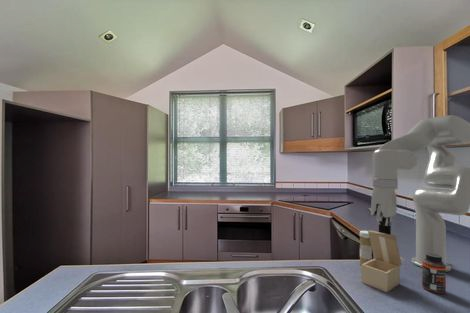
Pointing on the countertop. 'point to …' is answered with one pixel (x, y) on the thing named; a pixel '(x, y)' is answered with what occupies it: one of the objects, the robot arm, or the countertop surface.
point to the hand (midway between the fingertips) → (384, 236)
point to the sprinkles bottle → (365, 247)
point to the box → (380, 274)
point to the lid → (385, 247)
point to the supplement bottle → (434, 274)
